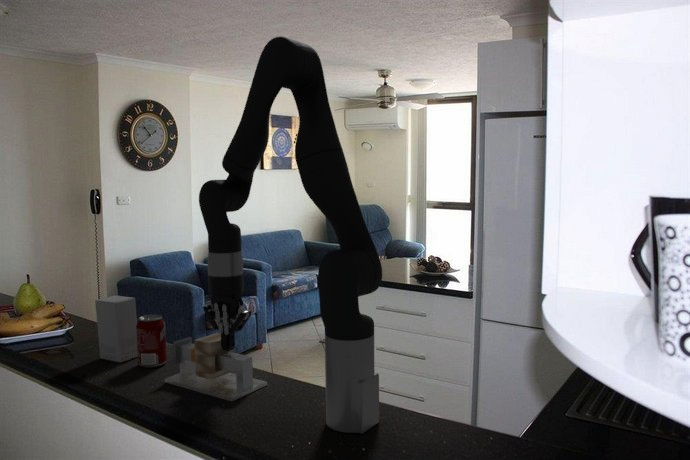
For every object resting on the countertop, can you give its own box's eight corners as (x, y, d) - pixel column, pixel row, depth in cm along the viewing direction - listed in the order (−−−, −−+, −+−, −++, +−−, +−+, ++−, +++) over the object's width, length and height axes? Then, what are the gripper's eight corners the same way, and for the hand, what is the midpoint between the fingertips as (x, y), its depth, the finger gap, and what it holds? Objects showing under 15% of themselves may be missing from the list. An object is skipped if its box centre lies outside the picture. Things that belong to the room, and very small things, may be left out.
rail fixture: (267, 385, 133) (266, 348, 132) (231, 401, 123) (230, 361, 123) (200, 368, 144) (199, 334, 144) (163, 381, 135) (162, 345, 134)
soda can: (158, 370, 143) (156, 321, 142) (132, 368, 145) (130, 320, 144) (171, 361, 150) (169, 314, 149) (147, 359, 151) (145, 313, 150)
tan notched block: (233, 370, 135) (232, 336, 134) (211, 379, 129) (210, 343, 129) (218, 367, 138) (217, 332, 137) (195, 375, 132) (194, 340, 131)
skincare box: (140, 356, 154) (137, 297, 152) (118, 364, 148) (115, 302, 147) (119, 351, 158) (116, 294, 157) (97, 358, 153) (94, 299, 151)
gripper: (260, 272, 128) (262, 350, 130) (216, 266, 136) (219, 341, 137) (235, 277, 122) (238, 359, 124) (191, 271, 129) (194, 349, 131)
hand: (228, 349), depth 131 cm, fingers closed
